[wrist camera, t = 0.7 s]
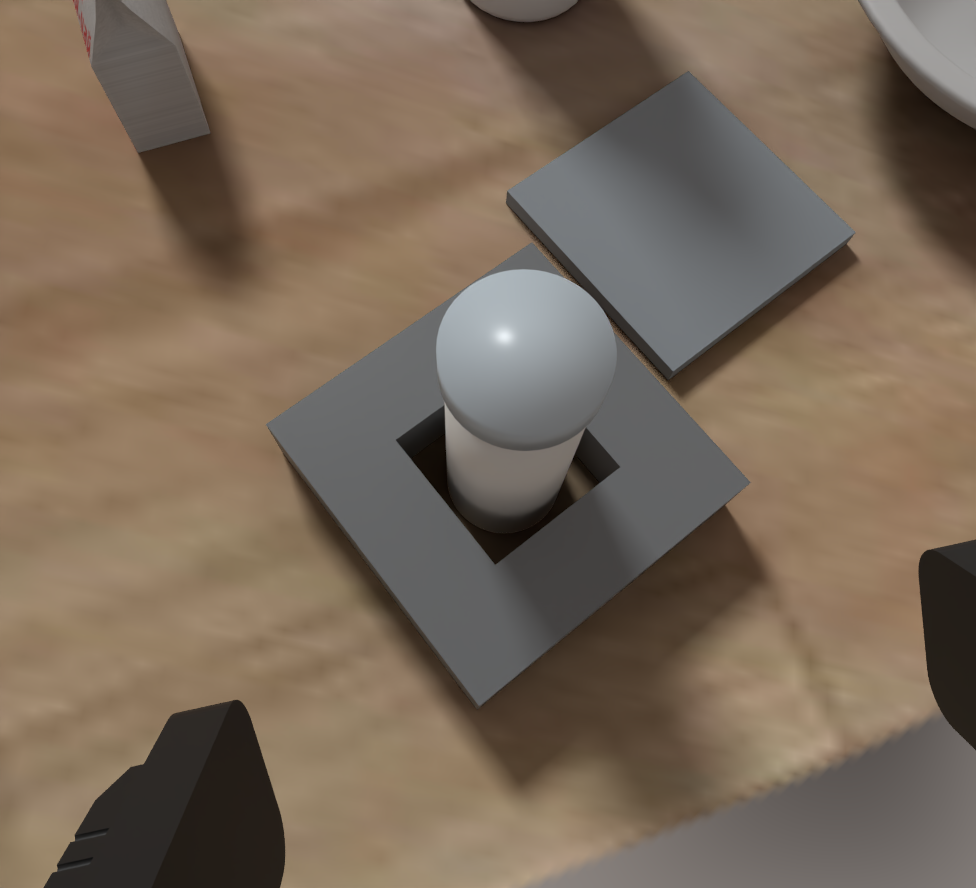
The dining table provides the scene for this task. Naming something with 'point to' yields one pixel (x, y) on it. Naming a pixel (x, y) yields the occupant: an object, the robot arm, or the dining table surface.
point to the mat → (678, 222)
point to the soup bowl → (933, 48)
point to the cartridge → (519, 392)
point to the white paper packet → (143, 70)
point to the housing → (448, 544)
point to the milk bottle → (524, 9)
